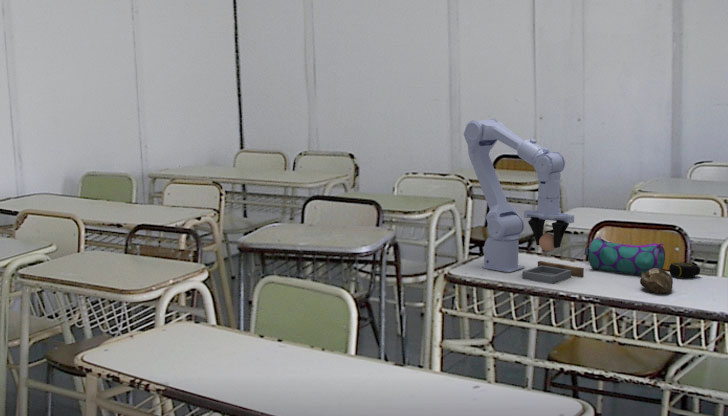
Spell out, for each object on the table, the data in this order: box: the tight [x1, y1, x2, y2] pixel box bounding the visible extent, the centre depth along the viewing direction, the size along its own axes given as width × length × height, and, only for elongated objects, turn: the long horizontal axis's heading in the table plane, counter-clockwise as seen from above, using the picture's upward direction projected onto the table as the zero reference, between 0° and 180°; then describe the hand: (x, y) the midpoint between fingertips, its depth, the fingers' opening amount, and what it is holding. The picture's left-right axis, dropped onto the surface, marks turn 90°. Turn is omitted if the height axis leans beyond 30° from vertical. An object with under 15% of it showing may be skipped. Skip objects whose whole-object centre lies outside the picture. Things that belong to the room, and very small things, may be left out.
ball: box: [538, 232, 556, 252], centre depth 229 cm, size 5×5×5 cm
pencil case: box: [583, 235, 666, 276], centre depth 235 cm, size 21×9×10 cm, turn 53°
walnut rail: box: [537, 260, 585, 278], centre depth 235 cm, size 14×1×2 cm, turn 46°
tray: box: [521, 265, 572, 285], centre depth 231 cm, size 10×10×2 cm
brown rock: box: [639, 268, 674, 294], centre depth 215 cm, size 8×7×10 cm
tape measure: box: [668, 261, 701, 279], centre depth 229 cm, size 7×7×4 cm
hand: (548, 246), depth 230 cm, fingers closed on ball, 5 cm apart
